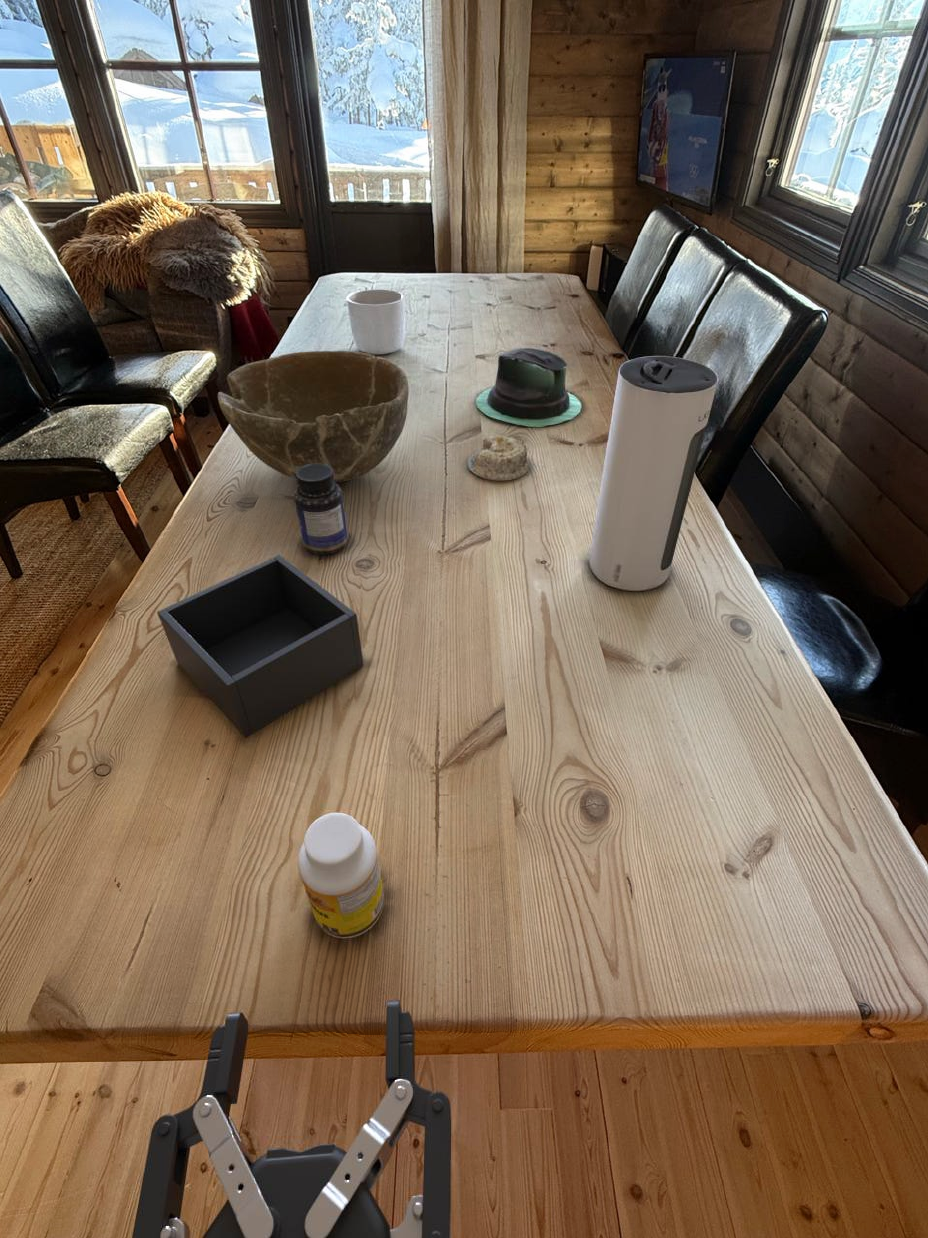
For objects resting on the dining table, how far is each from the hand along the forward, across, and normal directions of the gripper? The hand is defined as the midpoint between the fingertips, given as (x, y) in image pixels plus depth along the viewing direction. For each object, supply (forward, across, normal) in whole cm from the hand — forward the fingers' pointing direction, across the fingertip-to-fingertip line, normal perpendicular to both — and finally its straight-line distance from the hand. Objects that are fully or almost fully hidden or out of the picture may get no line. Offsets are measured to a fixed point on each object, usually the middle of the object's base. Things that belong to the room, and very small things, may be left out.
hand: (316, 1011), depth 36 cm
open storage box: (+39, +10, +11) cm, 42 cm away
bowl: (+82, +8, +11) cm, 84 cm away
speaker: (+54, -33, +11) cm, 64 cm away
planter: (+140, +1, +11) cm, 140 cm away
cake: (+83, -20, +11) cm, 86 cm away
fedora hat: (+107, -28, +11) cm, 111 cm away
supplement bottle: (+11, 0, +11) cm, 16 cm away
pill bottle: (+62, +6, +11) cm, 63 cm away
